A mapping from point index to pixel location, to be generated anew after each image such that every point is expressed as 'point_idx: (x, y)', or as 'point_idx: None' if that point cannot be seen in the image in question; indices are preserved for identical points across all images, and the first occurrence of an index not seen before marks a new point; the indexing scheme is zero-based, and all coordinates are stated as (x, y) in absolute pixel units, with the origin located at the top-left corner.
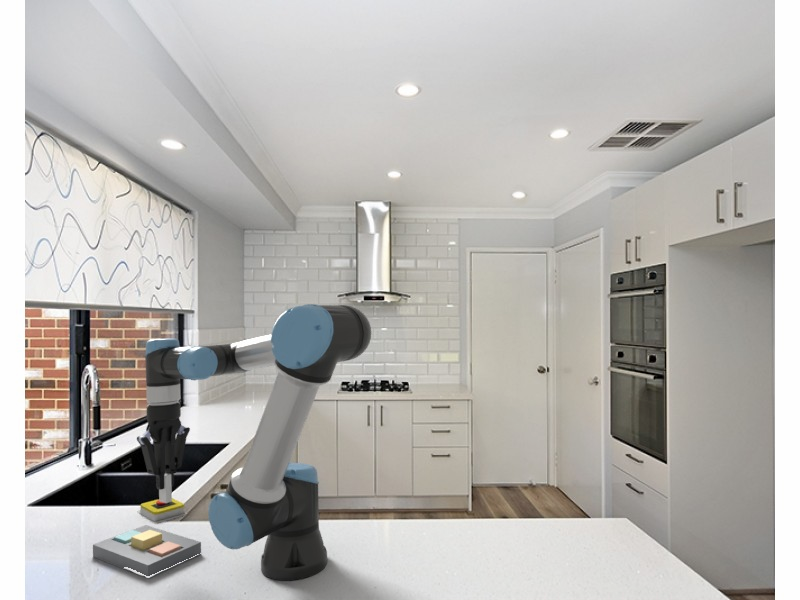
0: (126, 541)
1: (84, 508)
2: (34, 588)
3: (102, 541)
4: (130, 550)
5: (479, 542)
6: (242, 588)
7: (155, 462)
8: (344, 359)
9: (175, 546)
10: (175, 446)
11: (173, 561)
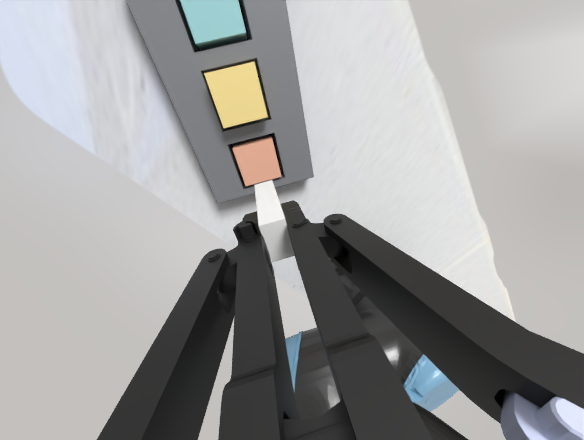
0: (198, 44)
1: None
2: (3, 70)
3: None
4: (201, 110)
5: None
6: (296, 279)
7: (225, 332)
8: None
9: (273, 173)
10: (400, 293)
11: None
